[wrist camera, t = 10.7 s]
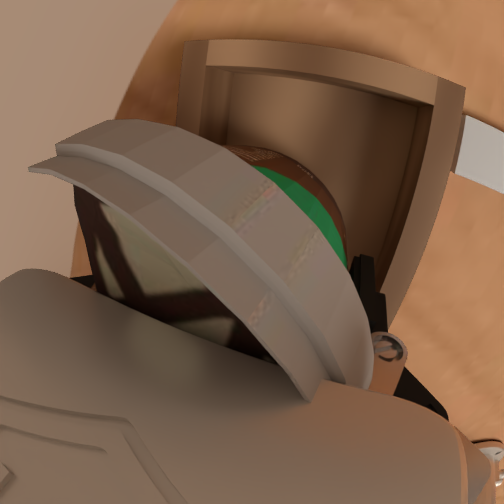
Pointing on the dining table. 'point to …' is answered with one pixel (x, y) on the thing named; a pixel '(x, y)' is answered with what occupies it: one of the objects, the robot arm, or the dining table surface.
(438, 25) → the dining table surface
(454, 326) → the dining table surface
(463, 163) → the plank
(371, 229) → the wooden tray
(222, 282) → the food container
